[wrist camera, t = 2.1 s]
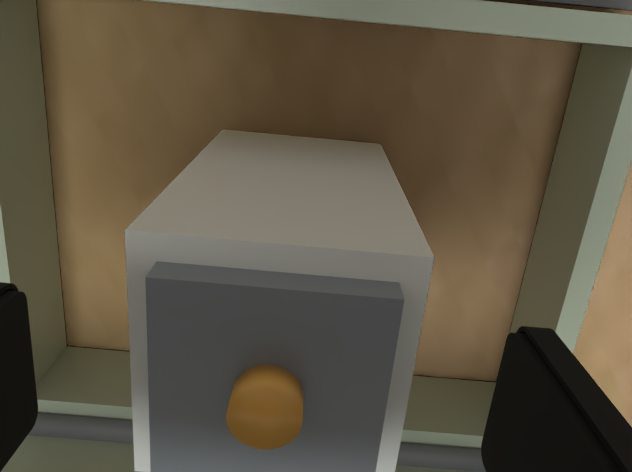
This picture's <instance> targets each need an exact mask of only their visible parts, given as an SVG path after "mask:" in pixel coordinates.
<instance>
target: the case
mask: <svg viewBox="0 0 632 472" xmlns="http://www.w3.org/2000/svg"><path fill="white" fill-rule="evenodd" d="M137 1H147V2H157V3H168V4H178V5H188V6H199V7H209V8H219V9H230V10H240V11H250V12H261V13H271V14H281V15H292V16H302V17H312V18H323V19H333V20H343V21H354V22H364V23H374V24H385V25H395V26H405V27H416V28H426V29H436V30H447V31H457V32H467V33H478V34H488V35H498V36H509V37H519V38H529V39H540V40H550V41H561V42H571V43H581V44H582V48H581V52H580V56H579V60H578V63H577V67H576V71H575V75H574V79H573V83H572V87H571V91H570V95H569V99H568V103H567V107H566V111H565V115H564V119H563V123H562V127H561V131H560V135H559V139H558V143H557V147H556V151H555V154H554V158H553V162H552V166H551V170H550V174H549V178H548V182H547V186H546V190H545V194H544V198H543V202H542V206H541V210H540V214H539V218H538V222H537V226H536V230H535V234H534V238H533V242H532V245H531V249H530V253H529V257H528V261H527V265H526V269H525V273H524V277H523V281H522V285H521V289H520V293H519V297H518V301H517V305H516V309H515V313H514V317H513V321H512V325H511V329H510V333H511V332H512V333H516V332H517V330H518V328H519V327H521V326H528V327H540V328H551V329H553V330H554V331H555V332H556V334H557V335H558V336H559V337H560V339H561V340H562V341H563V342H564V344H565V345H566V346H567V347H568V349H569V350H570V351H571V352H572V354H573V351H574V348H575V345H576V341H577V338H578V335H579V332H580V328H581V325H582V322H583V318H584V315H585V312H586V309H587V305H588V302H589V299H590V296H591V292H592V289H593V286H594V283H595V279H596V276H597V273H598V270H599V266H600V263H601V260H602V256H603V253H604V250H605V247H606V243H607V240H608V237H609V234H610V230H611V227H612V224H613V221H614V217H615V214H616V211H617V207H618V204H619V201H620V198H621V194H622V191H623V188H624V185H625V181H626V178H627V175H628V172H629V168H630V165H631V162H632V15H625V14H615V13H604V12H594V11H584V10H574V9H563V8H553V7H543V6H533V5H523V4H512V3H502V2H492V1H482V0H137ZM0 282H2V283H13V284H15V285H16V286H17V288H18V291H21V292H24V293H25V295H26V297H27V304H28V314H29V323H30V333H31V343H32V353H33V362H34V372H35V382H36V392H37V401H38V415H37V419H36V422H35V425H34V427H33V428H32V430H31V431H30V433H29V434H28V435H27V437H26V438H25V439H24V441H23V442H22V443H21V445H20V446H19V448H18V449H17V450H16V452H15V453H14V454H13V456H12V457H11V458H10V460H9V461H8V463H7V464H6V465H5V467H4V468H3V469H2V471H1V472H141V471H135V469H134V444H133V420H132V395H131V370H130V352H128V351H116V350H105V349H93V348H81V347H69V346H67V342H66V331H65V320H64V309H63V297H62V286H61V275H60V264H59V253H58V241H57V230H56V219H55V208H54V197H53V185H52V174H51V163H50V152H49V141H48V129H47V118H46V107H45V96H44V85H43V73H42V62H41V51H40V40H39V29H38V17H37V6H36V0H0ZM510 333H509V334H510ZM495 385H496V382H484V381H472V380H460V379H448V378H436V377H424V376H413V377H412V382H411V388H410V393H409V399H408V404H407V410H406V415H405V420H404V426H403V431H402V437H401V442H400V448H399V453H398V458H397V464H396V469H395V472H486V470H485V468H484V465H483V462H482V457H481V444H482V439H483V435H484V431H485V427H486V423H487V418H488V414H489V410H490V406H491V402H492V398H493V393H494V389H495Z"/></svg>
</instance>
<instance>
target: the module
mask: <svg viewBox="0 0 632 472" xmlns="http://www.w3.org/2000/svg"><path fill="white" fill-rule="evenodd" d="M125 247H126V272H127V297H128V321H129V346H130V370H131V395H132V420H133V444H134V469H135V471H141V472H395V469H396V464H397V458H398V453H399V448H400V442H401V437H402V431H403V426H404V420H405V415H406V410H407V404H408V399H409V393H410V388H411V382H412V377H413V372H414V366H415V361H416V355H417V350H418V344H419V339H420V334H421V328H422V323H423V317H424V312H425V306H426V301H427V296H428V290H429V285H430V279H431V274H432V269H433V263H434V258H435V257H434V255H433V253H432V251H431V249H430V247H429V245H428V243H427V241H426V238H425V236H424V234H423V232H422V230H421V228H420V226H419V224H418V222H417V219H416V217H415V215H414V213H413V211H412V209H411V207H410V205H409V203H408V200H407V198H406V196H405V194H404V192H403V190H402V188H401V186H400V184H399V181H398V179H397V177H396V175H395V173H394V171H393V169H392V167H391V165H390V162H389V160H388V158H387V156H386V154H385V152H384V150H383V148H382V146H381V144H377V143H366V142H355V141H344V140H333V139H322V138H312V137H301V136H290V135H279V134H268V133H257V132H247V131H236V130H225V129H222V130H221V132H220V133H219V134H218V135H217V136H216V137H215V138H214V139H213V140H212V141H211V142H210V143H209V144H208V145H207V146H206V147H205V148H204V149H203V150H202V151H201V152H200V153H199V154H198V155H197V156H196V157H195V158H194V159H193V160H192V161H191V162H190V163H189V164H188V165H187V167H186V168H185V169H184V170H183V171H182V172H181V173H180V174H179V175H178V176H177V177H176V178H175V179H174V180H173V181H172V182H171V183H170V184H169V185H168V186H167V187H166V188H165V189H164V190H163V191H162V192H161V193H160V194H159V195H158V196H157V197H156V198H155V199H154V201H153V202H152V203H151V204H150V205H149V206H148V207H147V208H146V209H145V210H144V211H143V212H142V213H141V214H140V215H139V216H138V217H137V218H136V219H135V220H134V221H133V222H132V223H131V224H130V225H129V226H128V227H127V228H126V229H125Z"/></svg>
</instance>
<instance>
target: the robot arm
mask: <svg viewBox="0 0 632 472" xmlns="http://www.w3.org/2000/svg"><path fill="white" fill-rule="evenodd" d="M37 415H38V401H37V392H36V382H35V372H34V362H33V353H32V343H31V333H30V323H29V314H28V304H27V297H26V295H25V293H24V292H21V291H18V288H17V286H16V285H15V284H13V283H2V282H0V472H1V471H2V469H3V468H4V467H5V465H6V464H7V463H8V461H9V460H10V458H11V457H12V456H13V454H14V453H15V452H16V450H17V449H18V448H19V446H20V445H21V443H22V442H23V441H24V439H25V438H26V437H27V435H28V434H29V433H30V431H31V430H32V428H33V427H34V425H35V422H36V419H37ZM481 457H482V462H483V465H484V468H485V470H486V472H632V427H631V426H630V425H629V423H628V422H627V421H626V420H625V418H624V417H623V416H622V415H621V413H620V412H619V411H618V410H617V409H616V407H615V406H614V405H613V404H612V402H611V401H610V400H609V399H608V397H607V396H606V395H605V394H604V392H603V391H602V390H601V389H600V387H599V386H598V385H597V384H596V382H595V381H594V380H593V379H592V377H591V376H590V375H589V374H588V372H587V371H586V370H585V369H584V367H583V366H582V365H581V364H580V362H579V361H578V360H577V359H576V357H575V356H574V355H573V354H572V352H571V351H570V350H569V349H568V347H567V346H566V345H565V344H564V342H563V341H562V340H561V339H560V337H559V336H558V335H557V334H556V332H555V331H554V330H553V329H551V328H540V327H528V326H521V327H519V328H518V330H517V332H516V333H512V332H511V333H510V334H509V335H508V337H507V340H506V344H505V348H504V352H503V356H502V360H501V364H500V369H499V373H498V377H497V381H496V385H495V389H494V393H493V398H492V402H491V406H490V410H489V414H488V418H487V423H486V427H485V431H484V435H483V439H482V444H481Z"/></svg>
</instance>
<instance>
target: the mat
mask: <svg viewBox="0 0 632 472" xmlns="http://www.w3.org/2000/svg"><path fill="white" fill-rule="evenodd" d="M527 1H537V2H547V3H557V4H568V5H578V6H588V7H598V8H608V9H619V10H629V11H632V0H527Z"/></svg>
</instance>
